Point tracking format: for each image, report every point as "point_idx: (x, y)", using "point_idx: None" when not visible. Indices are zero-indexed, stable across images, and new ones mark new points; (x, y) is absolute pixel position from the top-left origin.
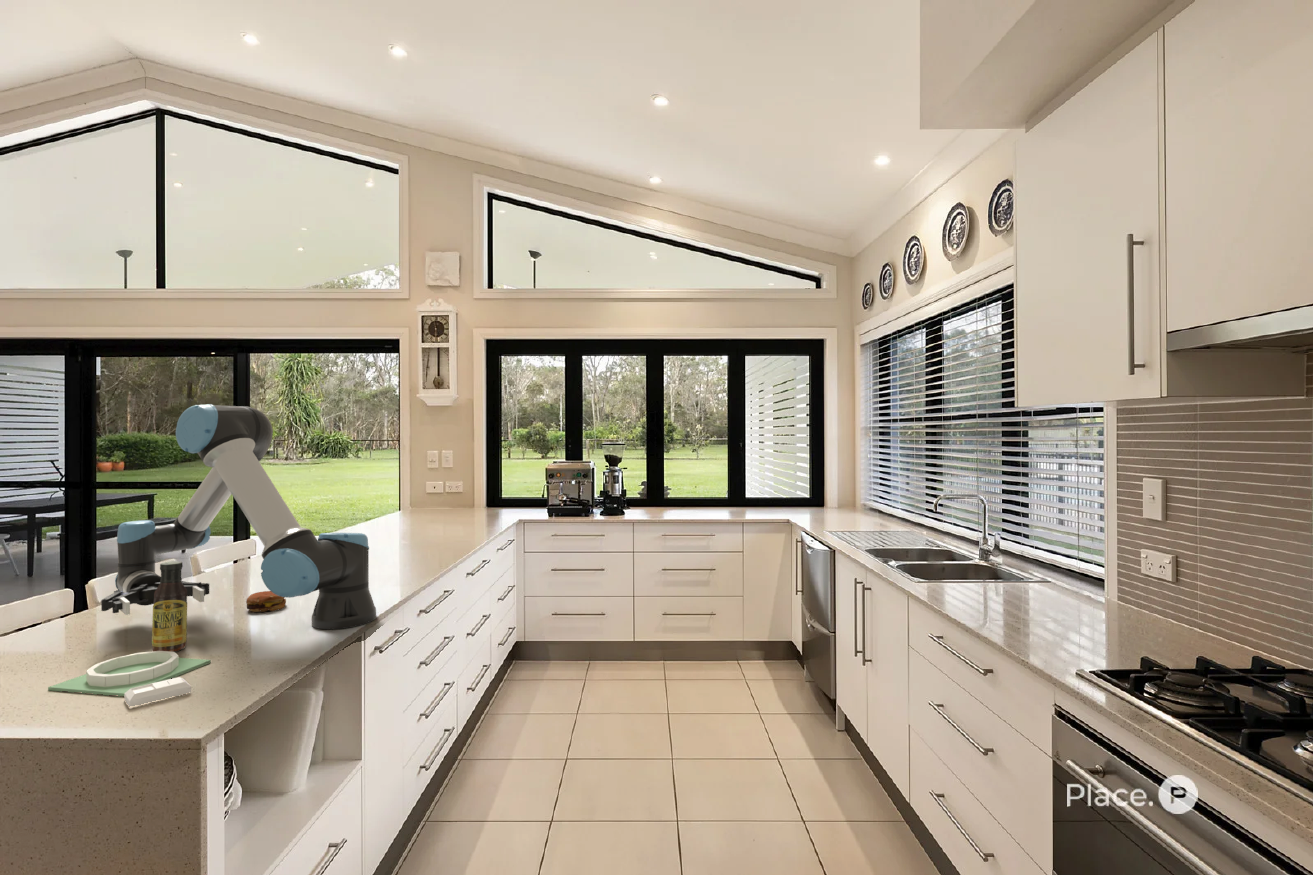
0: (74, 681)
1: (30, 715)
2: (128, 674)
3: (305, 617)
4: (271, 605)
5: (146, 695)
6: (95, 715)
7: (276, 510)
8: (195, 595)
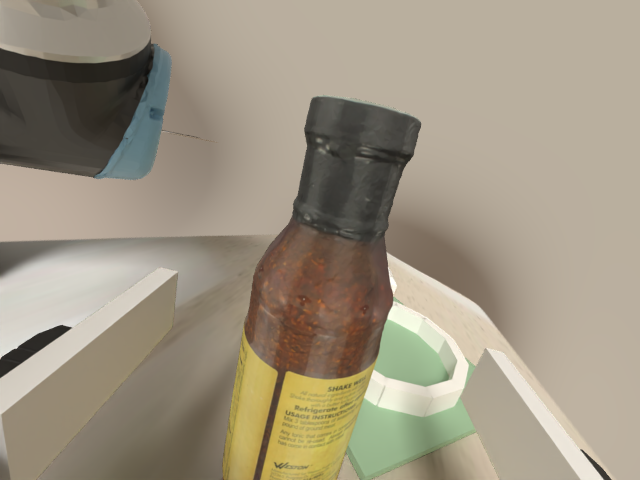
0: None
1: (487, 334)
2: (397, 303)
3: None
4: None
5: None
6: (416, 289)
7: None
8: (101, 383)
